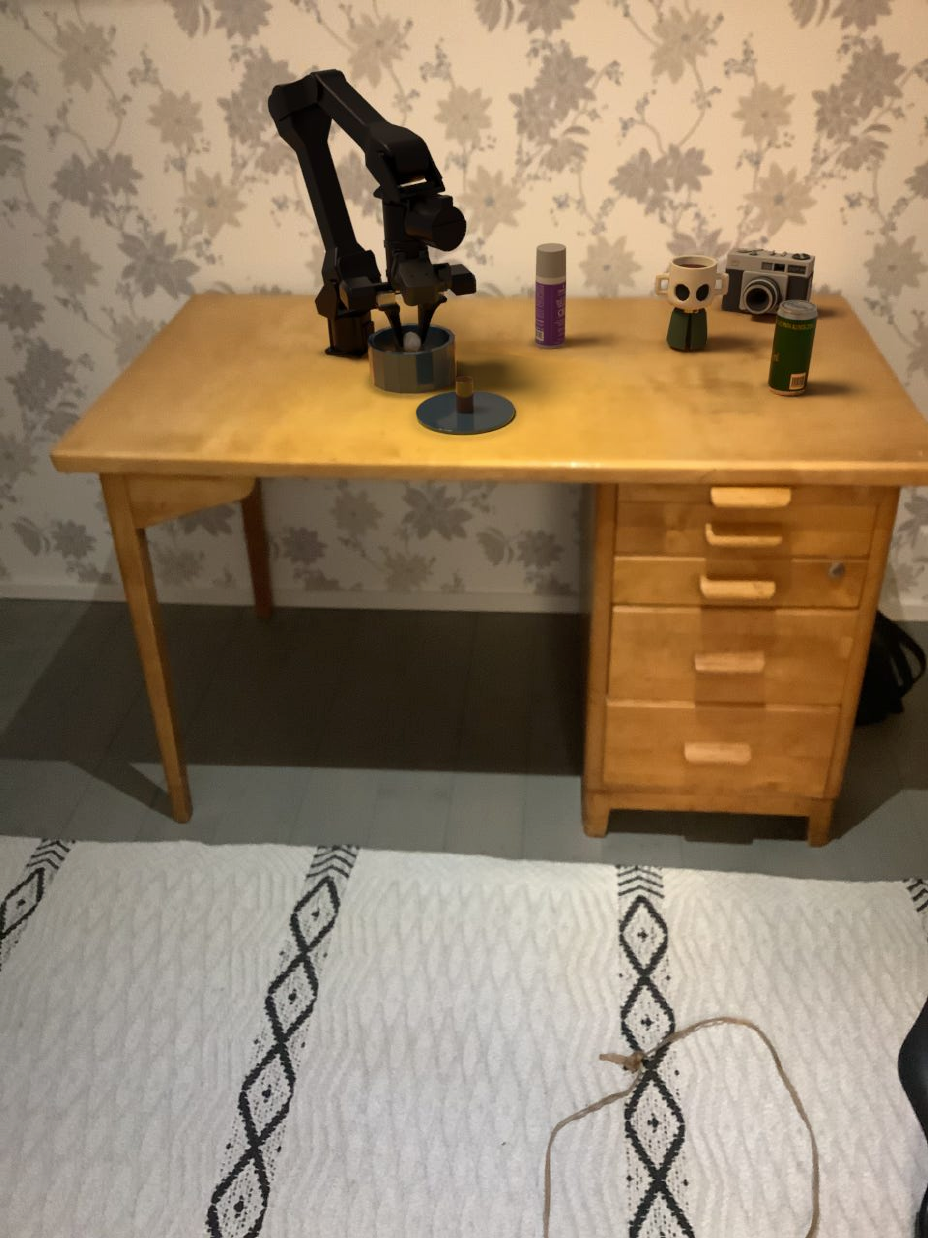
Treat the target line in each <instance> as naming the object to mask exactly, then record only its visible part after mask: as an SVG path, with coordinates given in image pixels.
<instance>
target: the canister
mask: <svg viewBox="0 0 928 1238" xmlns="http://www.w3.org/2000/svg"><path fill="white" fill-rule="evenodd" d="M401 326H402V332H403V337H404V336H405V334H406V333H408V332H412V333H415V334H417V335H418V336H419V334H418V322H413V323H411V322H410V323H409V322H408V323H407V322H406V323H401ZM456 339H457V337H456V334H455V333H454V332H453V331H452V330H451V329H450V328H447V327H445V326H441V325H439V324H432V323H430V326H429V330H428V333H427V336H426V339H425V343H424V344H421V345H420V348H419V350H418V351H416V352H407V351H406V350H405V349H404V348H403V347H400V346H399V344H398V341H397V339H396V337H395V334H394V332H393V330H392V327H391V325H390V326H386V327H383V328H379V329H377V330H375V333H373V334H372V335H370V337H369V339H368V342H367V343H368V353H367V355H368V362H369V363H368V365H369V376H370V381H371V382H372V384H373V386H374V387H376V388H378V389H380V390H382V391H385V392H389V393H394V394H400V395H401V394H405V395H406V394H409V395H411V394H413V395H415V394H421V393H422V394H423V393H428V392H436V391H438V390H441V389H443V388H446V387H448V386H450V385H451V384H452V383H454V382H455V379H456V378H457V374H458V369H457V366H458V365H457V345H456V344H457V343H456V342H457V341H456Z"/></svg>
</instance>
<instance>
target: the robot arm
mask: <svg viewBox="0 0 928 1238" xmlns="http://www.w3.org/2000/svg"><path fill="white" fill-rule="evenodd" d="M267 109H268V113H269V116H270V117H271V119H272V120H273V123H274V125H275V129H276V131H277V133H278V136H279V137H280V138H281V139H282V140H283V141H284V142H285V143H286V144H287V145H288V146H289V147H290V148H291V149H292V150H293V151H294V152H295V155H296V158H297V161H298V164H299V168H300V172H301V174H302V178H303V181H304V184H305V188H306V191H307V194H308V198H309V201H310V204H311V207H312V210H313V214H314V217H315V220H316V223H317V228H318V230H319V234H320V238H321V240H322V243H323V247H324V250H325V251H326V252H324V256H323V257H324V258H323V262H322V267H321V270H320V271H321V272H320V274H321V278H322V283H323V285H322V287H321V288H320V290H319V292H318V293H317V296H316V297H315V299H314V305H315V309H316V312H317V314H318V315H319V316H321V317H324V318H326V320H327V329H328V339H329V346H328V347H327V348H325V349H324V353H325V354H328V355H334V356H340V357H345V358H346V357H347V358H352V359H361V358H362V357H364V356H365V355H368V343H367V342H368V339H369V337H370V335H372V334H373V333H375V332H376V329H375V321H374V320H372V319H373V318H372V310H378V311H379V312H382V313H384V314H385V316H386V318H387V320H388V322H389V325H390V326H391V327H392V330H393V332H394V334H395V337H396V339H397V341H398V344H399V346H400V347H403V346H404V345H403V332H402V326H401V324H402V321H401V314H400V313H401V306H400V304H399V303H398V302H397V301H396V296H398V295H401V297H402V300H403V303H404V304H405V305H406V306H407V307H417V323H418V334H419V337H420V340H421V344H424V343H425V339H426V336H427V333H428V330H429V326H430V324H432V323H431V322H432V319H433V317H434V314H435V313H436V310H437V309H438V308H439V307H440V306H441V305H442V304H445V303H447V302H448V297H447V296H446V295H445V292H448V290H450V292H452V293H453V294H454V295H455V296H457V297H459V296H460V297H461V296H467V295H474V294H476V293H477V279H476V275H475V274H474V273H473V272H472V271H471V270H470V269H468V268H467V267H466V266H465V265H464V264H462V263H456V264H450V263H449V262H440V263H432V260H431V258H430V251H429V247H430V248H433V249H436V250H438V251H442V252H444V253H445V252H447V253H448V252H452V251H454V250H457V248H458V247H459V246H460V245H462V243H463V241H464V239H465V237H466V233H467V224H468V223H467V220H466V218H465V216H464V213H463V211H462V210H461V209H460V208H458V207H457V206H455V205H454V197H453V196H452V195H449V194H442V193H445V192H446V186H445V184H444V180H443V179H444V177H443V176H442V173H441V172H440V170H439V168H438V166H437V164H436V162H435V160H434V157H433V156H432V153H431V150H430V149H429V146H428V144H427V143H426V141H425V140H424V139H423V137H421V136H420V135H419V134H417V133H416V132H414V131H412V129H409V128H408V127H404V126H401V125H398V124H394V123H392V122H390V121H389V120H387V119H386V118H385V117H384V116H383V115H382V114H380V112H379V111H378V110H376V108H375V107H374V106H373V105H372V104H370V102H369V101H368V100H367V99H366V98H365V97H363V95H362V94H361V93H359V92H358V91H357V89H355V88H354V86H352V84H350V82H348V81H347V77H346V75H345V73H344V72H343V71H342V70H340V69H336V68H330V69H323V70H322V69H321V70H316V71H311V72H310V73H308V74H306V75H305V76H303V77H302V78H300V79H298V80H295V81H293V82H287V83H280V84H276V85H274V86H273V88H272V90H271V93H270V95H269V96H268V97H267ZM333 121H334V123H335V124H336V125H338V127H340V129H342V131H343V132H345V134H346V135H347V136H348V137H349V138H350V139H351V140H352V141H353V142H354V143H355V145H357V146H358V147H359V148H360V149H361V151H362V152H363V153H364V166H365V167H366V169H367V171H368V172H369V173H370V174H371V176H372V177H373V178H374V180H375V182H377V184H378V185H379V186H378V187H377V188H376V189H375V190H374V191H373V192H372V196H373V197H374V198H375V199H378V200H381V208H382V209H381V210H382V223H383V237H384V238H383V239H382V240H383V249H384V251H385V266H386V268H385V277H386V280H387V281H383V279H382V273H381V271H380V270H379V265H378V263H377V259H376V254H375V253H374V251H373V250H372V249H365V248H364V247H363V246H362V245H361V244H360V243H359V242H358V239H357V238H356V233H355V231H354V227H353V224H352V220H351V217H350V214H349V213H350V212H349V210H348V205H347V203H346V200H345V197H344V192H343V189H342V186H341V182H340V180H339V176H338V172H337V169H336V165H335V162H334V159H333V155H332V153H331V149H330V145H329V137H330V136H329V135H330V132H331V128H332V123H333ZM423 180H425V181H423ZM421 181H422V182H421Z"/></svg>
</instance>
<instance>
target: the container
mask: <svg viewBox="0 0 928 1238" xmlns="http://www.w3.org/2000/svg"><path fill="white" fill-rule="evenodd" d="M535 255H536V256H535V280H534V281H535V283H534V284H535V287H534V288H535V289H534V290H535V295H534V296H535V297H534V300H535V302H534V303H535V305H534V308H535V309H534V311H535V312H534V313H535V314H534V320H535V321H534V326H535V327H534V344H535V346H536V347H538V348H540V349H545V350H554V349H559V348H560V349H561V348H562V347H564V346H565V344H566V309H567V307H566V305H567V246H566V245H565V244H562V243H557V242H546V243H541V244H538V245H537V246H536V253H535Z"/></svg>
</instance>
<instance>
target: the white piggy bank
mask: <svg viewBox="0 0 928 1238" xmlns="http://www.w3.org/2000/svg"><path fill="white" fill-rule="evenodd" d="M403 345H404V346H403V348H404V349H405V350H406V351H407V352H416V351H418V350H419V348H420V345H421V340H420V337H419V336H418V335H417V334H415V333H412V332H408V333H406V334H405V336H404V337H403Z"/></svg>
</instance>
